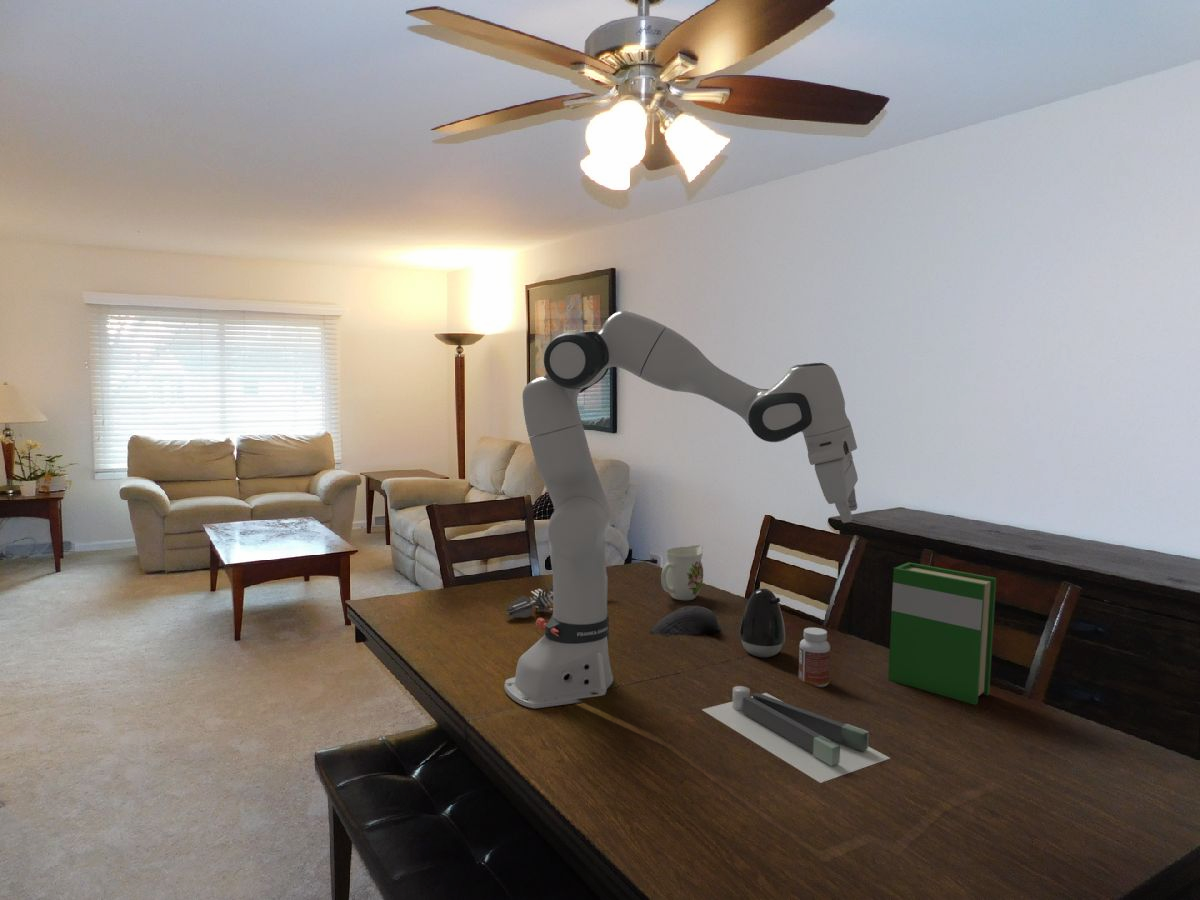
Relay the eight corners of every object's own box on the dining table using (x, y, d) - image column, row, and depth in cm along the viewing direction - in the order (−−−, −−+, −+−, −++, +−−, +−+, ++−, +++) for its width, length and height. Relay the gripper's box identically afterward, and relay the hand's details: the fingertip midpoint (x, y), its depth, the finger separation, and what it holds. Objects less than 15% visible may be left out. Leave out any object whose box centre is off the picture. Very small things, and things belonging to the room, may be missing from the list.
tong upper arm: (752, 710, 146) (753, 694, 145) (758, 707, 147) (758, 692, 147) (862, 752, 130) (863, 734, 130) (867, 748, 131) (868, 731, 131)
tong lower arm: (727, 706, 148) (727, 688, 147) (741, 703, 150) (742, 684, 149) (831, 767, 125) (832, 746, 125) (847, 762, 127) (848, 741, 127)
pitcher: (646, 600, 220) (647, 552, 218) (684, 587, 233) (685, 542, 232) (677, 608, 212) (678, 559, 211) (715, 595, 226) (716, 548, 224)
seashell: (734, 643, 193) (738, 611, 193) (671, 646, 184) (676, 613, 183) (699, 625, 206) (703, 595, 205) (639, 628, 196) (643, 596, 196)
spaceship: (619, 572, 219) (601, 557, 224) (517, 609, 196) (500, 592, 201) (614, 595, 222) (596, 580, 227) (513, 634, 200) (496, 616, 205)
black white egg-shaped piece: (758, 664, 172) (761, 597, 171) (730, 649, 181) (732, 585, 180) (794, 657, 177) (797, 591, 175) (764, 643, 186) (766, 580, 184)
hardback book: (989, 694, 157) (996, 578, 155) (976, 705, 152) (983, 585, 150) (903, 670, 170) (908, 562, 167) (888, 679, 164) (893, 568, 162)
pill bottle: (835, 684, 162) (837, 632, 161) (815, 690, 158) (817, 637, 157) (812, 674, 167) (814, 624, 166) (792, 680, 163) (793, 629, 162)
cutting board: (820, 788, 121) (820, 782, 121) (701, 714, 147) (701, 709, 147) (890, 763, 129) (890, 758, 129) (765, 697, 155) (766, 692, 155)
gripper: (822, 441, 158) (840, 506, 158) (806, 457, 139) (826, 532, 140) (854, 433, 155) (872, 500, 156) (841, 449, 136) (862, 525, 137)
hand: (850, 515), depth 147 cm, fingers open, 8 cm apart
